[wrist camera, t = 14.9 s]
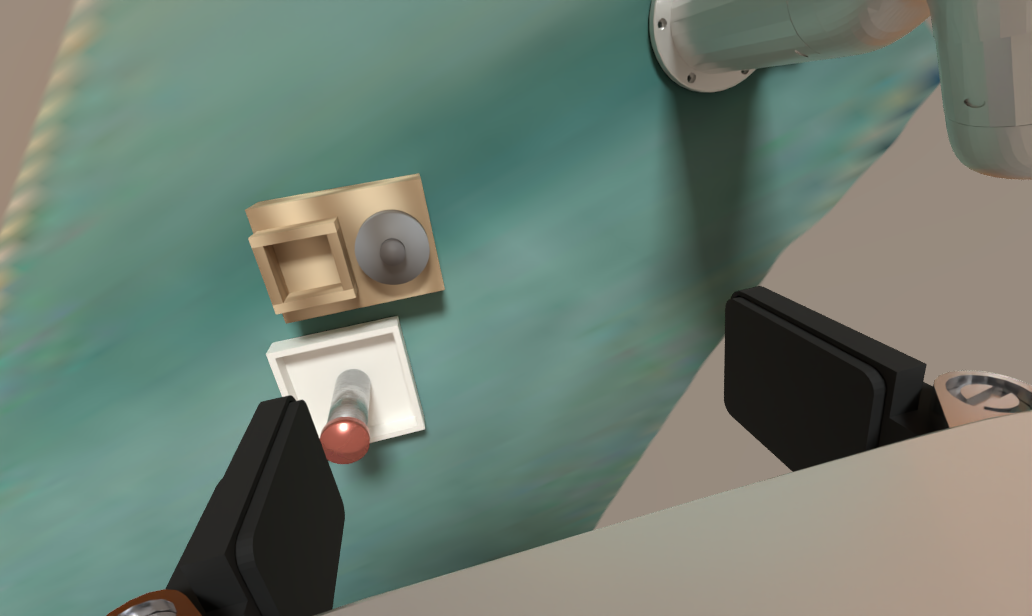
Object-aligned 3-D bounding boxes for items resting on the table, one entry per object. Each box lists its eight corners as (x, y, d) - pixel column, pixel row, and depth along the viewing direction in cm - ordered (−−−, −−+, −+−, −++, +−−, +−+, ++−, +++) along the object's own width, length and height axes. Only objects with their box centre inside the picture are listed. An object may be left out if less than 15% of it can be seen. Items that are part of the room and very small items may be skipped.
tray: (397, 315, 50) (397, 325, 47) (424, 415, 54) (425, 429, 52) (272, 342, 48) (266, 354, 46) (310, 443, 52) (306, 458, 50)
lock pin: (368, 362, 50) (362, 418, 41) (378, 396, 51) (374, 457, 42) (327, 371, 49) (312, 430, 40) (338, 405, 51) (326, 469, 42)
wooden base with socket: (419, 173, 45) (422, 183, 39) (441, 276, 49) (447, 301, 42) (258, 201, 43) (232, 217, 37) (294, 307, 47) (277, 338, 41)
